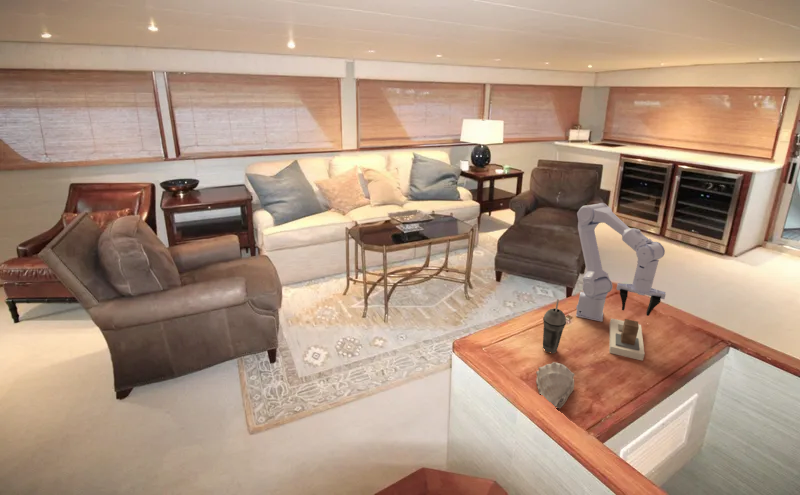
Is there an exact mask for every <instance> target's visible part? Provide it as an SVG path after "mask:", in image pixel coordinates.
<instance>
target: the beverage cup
mask: <svg viewBox="0 0 800 495" xmlns="http://www.w3.org/2000/svg"><path fill="white" fill-rule="evenodd" d="M555 305H556V306H555V308H550V309H548V310H547V311H546V312H545V313H544V314H543V315H544V316H543V318H542V320H543V333H542V334H543V335H542V349H543V348H544V349H545V351H547V352H551V353H552V354H556V353H557V350H558V348H559V345H560V342H561V339H562V334H563V331H564V329H565V327H566V324H567V317H566V314H565V313H564V312H563V311H562V310H561V309H560V308H558V307H559V298H558V299H557V300H556V304H555ZM545 351H544V352H545ZM547 352H546V353H547ZM555 352H556V353H555ZM551 353H550V354H551Z"/></svg>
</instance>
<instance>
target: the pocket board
mask: <svg viewBox="0 0 800 495" xmlns="http://www.w3.org/2000/svg"><path fill="white" fill-rule="evenodd" d="M624 321H625V320H622V319H616V318H610V320H609V342H608V343H609V345H608V346H609V353H608V354H613V355H617V356H621V357H625V358H630V359H633V360H638V361H644V358H645V347H644V346H645V345H644V339H643V338H644V337H643V331H642V330H643V329H642V324H639V323H638V325H639V329H638V333H637V336H636V338H638V339H639V351H638V350H634V349H629V348H625V347H621V346H616V333H617V334H621V333H622V329H623V325H624Z"/></svg>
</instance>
